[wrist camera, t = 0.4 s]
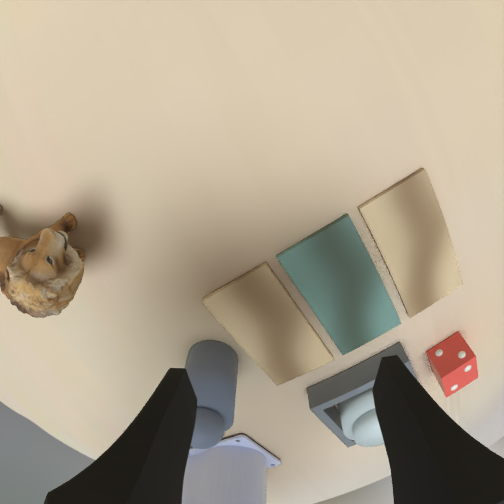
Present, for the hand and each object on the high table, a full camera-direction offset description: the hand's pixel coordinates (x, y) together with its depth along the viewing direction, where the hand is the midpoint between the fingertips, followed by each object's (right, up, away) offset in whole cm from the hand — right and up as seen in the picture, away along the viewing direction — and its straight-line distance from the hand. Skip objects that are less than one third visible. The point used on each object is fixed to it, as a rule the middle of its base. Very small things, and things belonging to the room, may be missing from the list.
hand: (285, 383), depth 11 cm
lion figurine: (-17, +7, +9) cm, 20 cm away
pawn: (-4, -4, +13) cm, 14 cm away
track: (+5, +2, +10) cm, 12 cm away
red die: (+17, -4, +13) cm, 21 cm away
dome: (+10, -8, +15) cm, 19 cm away
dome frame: (+10, -8, +15) cm, 19 cm away
